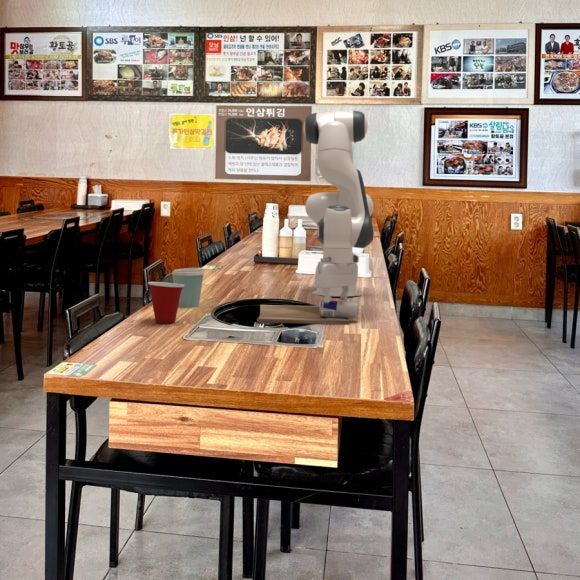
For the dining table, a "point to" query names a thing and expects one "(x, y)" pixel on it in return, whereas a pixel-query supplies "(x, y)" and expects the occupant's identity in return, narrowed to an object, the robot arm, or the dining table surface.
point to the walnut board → (296, 315)
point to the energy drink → (338, 309)
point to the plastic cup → (165, 300)
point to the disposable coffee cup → (189, 286)
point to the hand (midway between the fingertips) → (335, 301)
